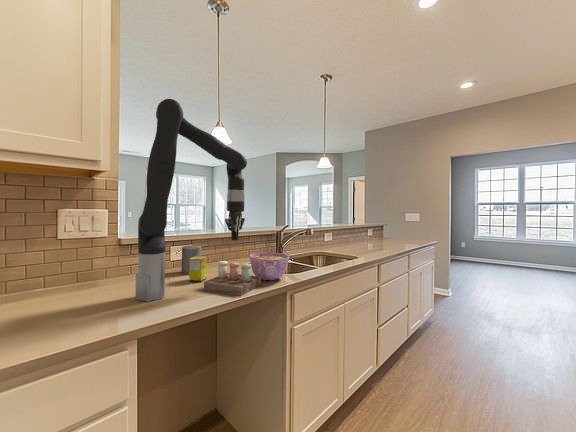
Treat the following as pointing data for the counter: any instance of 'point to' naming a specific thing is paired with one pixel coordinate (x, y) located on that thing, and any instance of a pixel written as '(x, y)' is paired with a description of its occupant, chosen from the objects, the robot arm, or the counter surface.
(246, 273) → the pale green shaker
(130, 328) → the counter surface
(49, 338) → the counter surface
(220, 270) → the white shaker
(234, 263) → the terracotta shaker
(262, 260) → the bowl of food
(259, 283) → the walnut board
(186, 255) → the pillar candle
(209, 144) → the robot arm
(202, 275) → the supplement box
